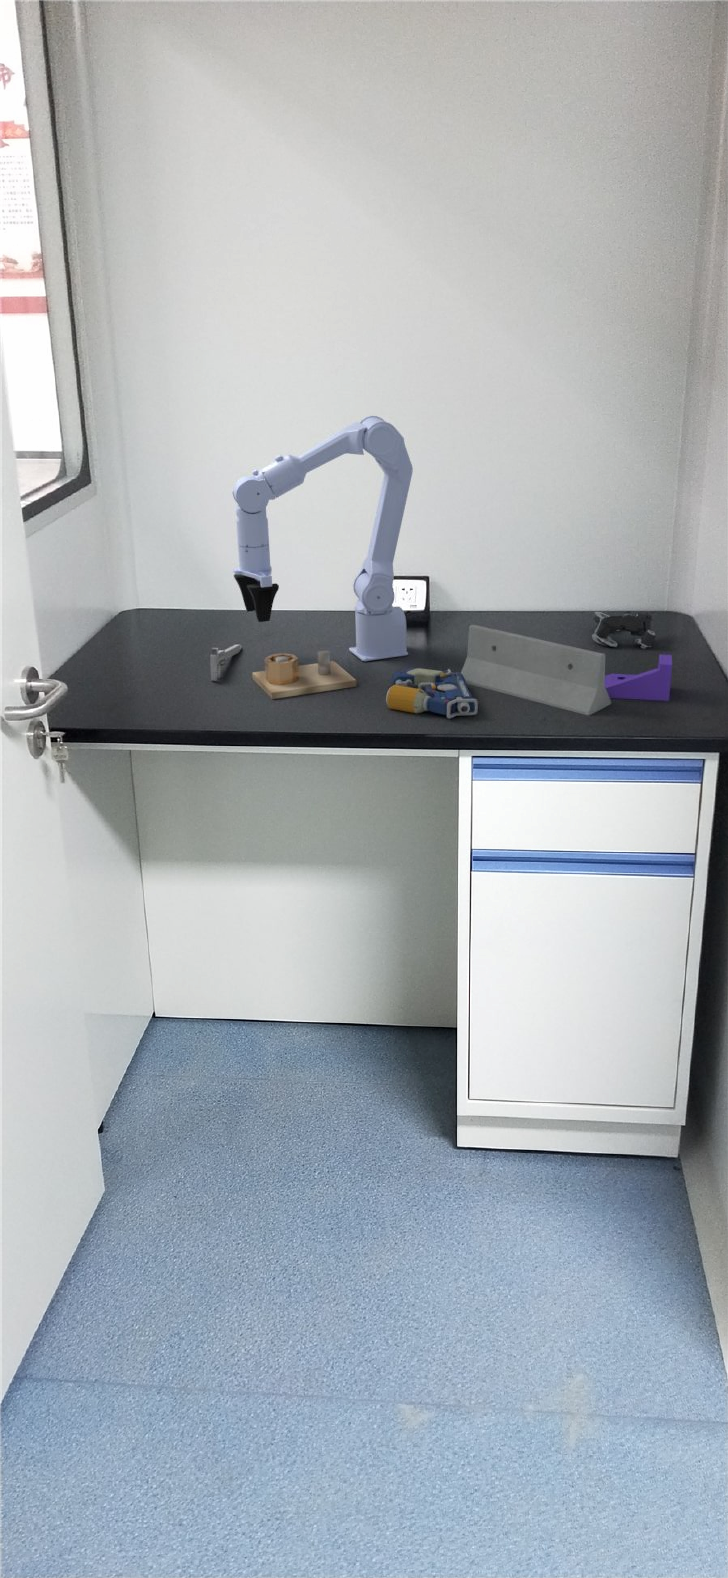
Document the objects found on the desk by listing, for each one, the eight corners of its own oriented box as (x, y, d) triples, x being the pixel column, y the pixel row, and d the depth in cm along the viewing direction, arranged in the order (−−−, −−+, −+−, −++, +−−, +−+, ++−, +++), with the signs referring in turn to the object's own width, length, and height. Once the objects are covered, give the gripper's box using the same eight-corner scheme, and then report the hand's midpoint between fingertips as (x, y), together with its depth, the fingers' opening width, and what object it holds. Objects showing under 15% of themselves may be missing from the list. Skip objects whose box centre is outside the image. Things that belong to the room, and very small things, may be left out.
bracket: (668, 689, 209) (671, 652, 206) (668, 702, 203) (672, 664, 200) (599, 685, 212) (601, 649, 209) (598, 698, 205) (600, 661, 203)
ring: (292, 672, 217) (291, 651, 215) (301, 681, 212) (300, 660, 210) (263, 676, 215) (261, 655, 213) (271, 686, 210) (270, 665, 209)
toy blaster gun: (389, 724, 196) (478, 722, 197) (389, 700, 194) (479, 698, 195) (379, 686, 215) (461, 684, 216) (379, 663, 213) (462, 661, 214)
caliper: (217, 683, 217) (214, 650, 214) (211, 683, 217) (208, 650, 214) (242, 649, 235) (240, 618, 233) (236, 649, 235) (235, 618, 233)
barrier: (611, 705, 202) (615, 649, 198) (588, 717, 198) (592, 660, 193) (481, 672, 219) (482, 620, 215) (458, 682, 215) (458, 629, 210)
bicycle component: (592, 616, 243) (585, 640, 230) (607, 585, 239) (601, 608, 226) (645, 640, 242) (641, 666, 229) (661, 610, 238) (658, 634, 226)
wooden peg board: (333, 666, 223) (332, 640, 221) (356, 686, 213) (355, 658, 211) (252, 678, 218) (250, 651, 216) (272, 699, 208) (270, 671, 206)
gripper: (222, 538, 221) (227, 608, 227) (243, 554, 209) (248, 628, 215) (258, 534, 224) (262, 604, 229) (281, 550, 211) (285, 623, 217)
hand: (257, 615), depth 222 cm, fingers open, 7 cm apart
